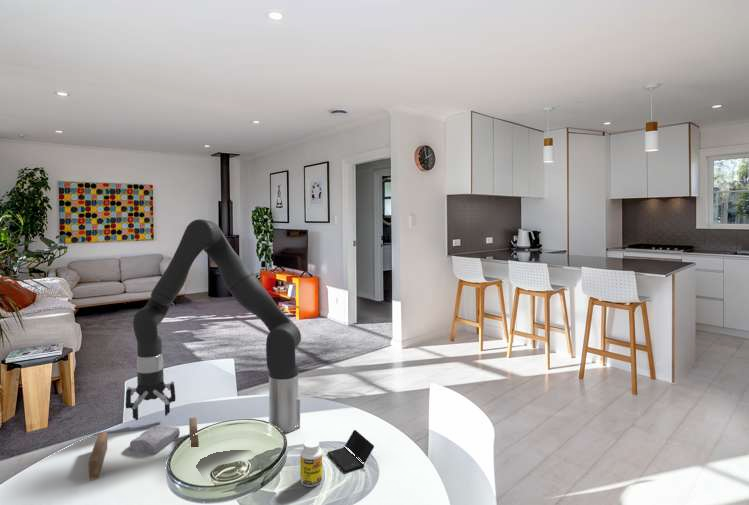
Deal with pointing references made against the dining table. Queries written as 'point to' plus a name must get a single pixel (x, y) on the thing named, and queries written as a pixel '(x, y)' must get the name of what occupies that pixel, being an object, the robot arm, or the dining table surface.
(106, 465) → the dining table surface
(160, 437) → the stone block
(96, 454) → the walnut chute
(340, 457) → the handheld gaming console
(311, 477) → the supplement bottle
